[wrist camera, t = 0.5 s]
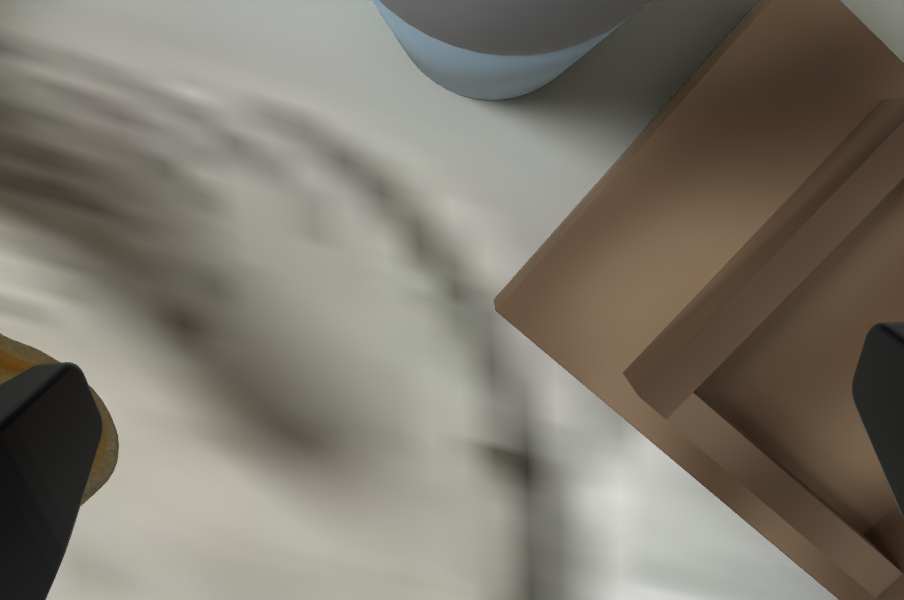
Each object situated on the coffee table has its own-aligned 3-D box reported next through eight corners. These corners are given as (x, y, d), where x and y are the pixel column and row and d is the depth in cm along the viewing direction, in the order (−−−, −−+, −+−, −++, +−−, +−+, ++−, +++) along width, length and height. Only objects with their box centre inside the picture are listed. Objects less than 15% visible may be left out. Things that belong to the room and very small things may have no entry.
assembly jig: (1192, 383, 22) (1327, 426, 18) (897, 640, 24) (969, 722, 20) (778, -22, 20) (843, -58, 16) (493, 299, 22) (498, 327, 18)
